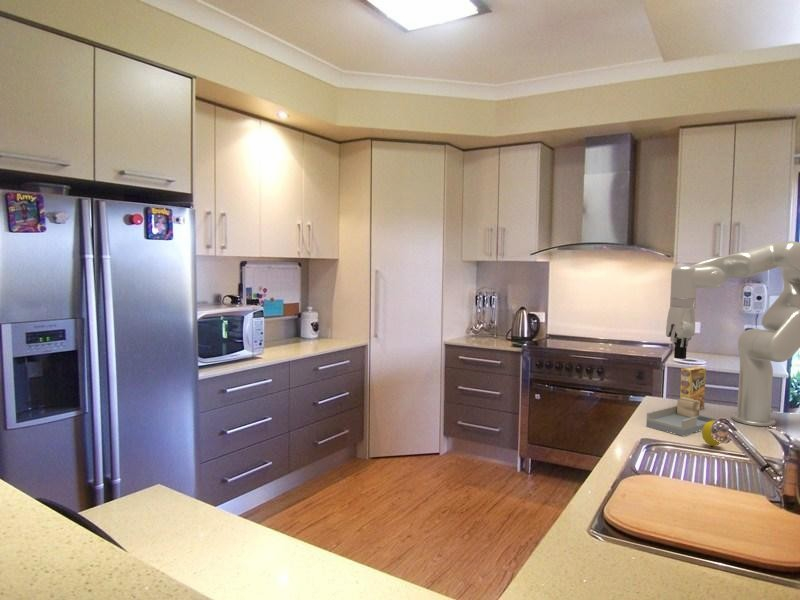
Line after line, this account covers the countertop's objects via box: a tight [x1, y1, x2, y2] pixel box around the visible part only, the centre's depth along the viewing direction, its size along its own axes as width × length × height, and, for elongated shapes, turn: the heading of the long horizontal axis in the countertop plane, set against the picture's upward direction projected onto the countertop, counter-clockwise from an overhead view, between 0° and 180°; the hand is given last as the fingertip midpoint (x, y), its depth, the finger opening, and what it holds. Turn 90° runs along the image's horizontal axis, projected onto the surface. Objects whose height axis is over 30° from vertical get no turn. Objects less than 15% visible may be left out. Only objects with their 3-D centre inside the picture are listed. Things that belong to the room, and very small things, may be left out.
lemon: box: [701, 420, 721, 447], centre depth 161 cm, size 6×6×8 cm
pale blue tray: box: [646, 405, 719, 437], centre depth 182 cm, size 22×12×5 cm, turn 124°
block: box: [676, 398, 701, 418], centre depth 188 cm, size 5×5×5 cm
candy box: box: [679, 365, 707, 410], centre depth 203 cm, size 9×4×15 cm, turn 118°
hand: (680, 358), depth 183 cm, fingers closed
